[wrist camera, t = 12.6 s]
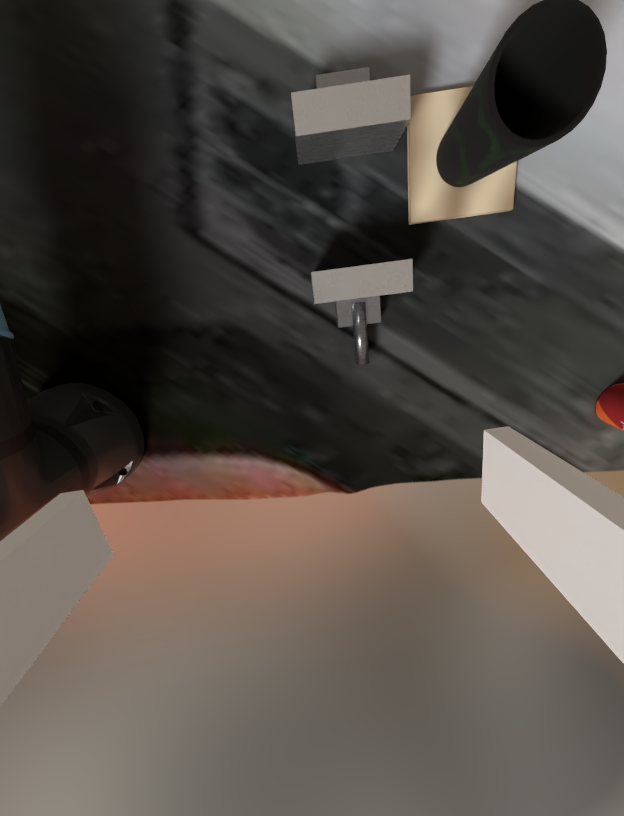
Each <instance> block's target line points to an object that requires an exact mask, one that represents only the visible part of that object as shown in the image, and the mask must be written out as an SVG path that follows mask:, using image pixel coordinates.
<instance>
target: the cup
mask: <svg viewBox="0 0 624 816" xmlns="http://www.w3.org/2000/svg"><path fill="white" fill-rule="evenodd" d="M606 55H607V49H606V41H605V34H604V31H603V29H602V26H601V24H600V21H599V19H598V17H597V16H596V15H595V14H594V12H593V11H592V10H591V9H590V7H588V6H587V5H585V4H584V3H582V2H581V1H579V0H543V1H541V2H539V3H537V4H534V5H533V6H531V7H530V8H529V9H527V10H526V11H525V12H524V13H522V14H521V15H520V16H519V17H518V18H517V19H516V20H515V21H514V23H513V24H512V25H511V26H510V27H509V29H508V30H507V31H506V33H505V34H504V36H503V38H502V39H501V41H500V43H499V44H498V46H497V48H496V50H495V51H494V53H493V55H492V56H491V58H490V60H489V61H488V63H487V65H486V66H485V68H484V70H483V71H482V73H481V75H480V76H479V78H478V80H477V81H476V83H475V85H474V86H473V88H472V90H471V91H470V93H469V95H468V96H467V98H466V100H465V101H464V103H463V105H462V106H461V108H460V110H459V111H458V113H457V115H456V116H455V118H454V120H453V121H452V123H451V125H450V126H449V128H448V130H447V131H446V133H445V135H444V136H443V138H442V140H441V142H440V144H439V147H438V150H437V156H436V163H437V169H438V172H439V174H440V176H441V178H442V179H443V180H444V181H445V182H446V183H447V184H449V185H451V186H453V187H465V186H468V185H470V184H473V183H475V182H476V181H478V180H480V179H482V178H484V177H486V176H488V175H490V174H492V173H494V172H496V171H498V170H500V169H502V168H504V167H506V166H508V165H510V164H512V163H514V162H516V161H518V160H520V159H522V158H524V157H526V156H528V155H530V154H532V153H534V152H536V151H538V150H539V149H541V148H543V147H545V146H547V145H549V144H551V143H553V142H555V141H557V140H559V139H560V138H562V137H563V136H565V135H566V134H568V133H569V132H571V131H572V130H573V129H574V128H575V127H576V126H577V125H578V124H579V123H580V122H581V121H582V120H583V118H584V117H585V115H586V114H587V112H588V111H589V109H590V108H591V106H592V105H593V103H594V101H595V99H596V97H597V94H598V92H599V90H600V88H601V85H602V81H603V77H604V73H605V69H606Z"/></svg>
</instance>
